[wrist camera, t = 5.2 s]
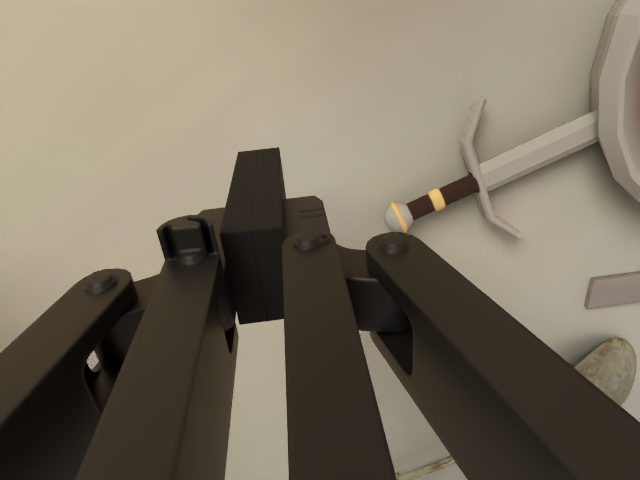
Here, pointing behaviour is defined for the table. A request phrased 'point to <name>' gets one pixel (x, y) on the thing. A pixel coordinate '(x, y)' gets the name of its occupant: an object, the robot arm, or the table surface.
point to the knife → (613, 290)
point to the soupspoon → (598, 367)
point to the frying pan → (558, 131)
